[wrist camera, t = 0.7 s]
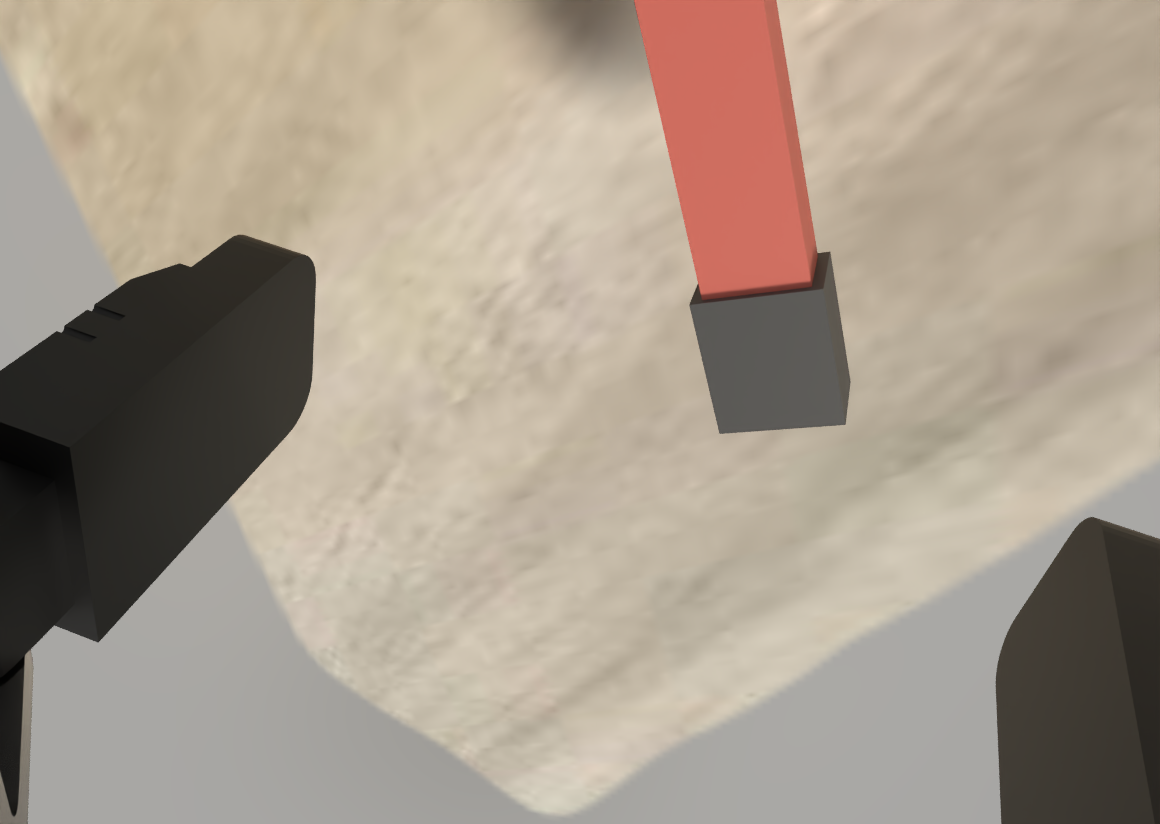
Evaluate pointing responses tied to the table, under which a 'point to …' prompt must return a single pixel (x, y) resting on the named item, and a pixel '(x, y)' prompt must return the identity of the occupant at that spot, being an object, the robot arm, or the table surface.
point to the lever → (746, 215)
